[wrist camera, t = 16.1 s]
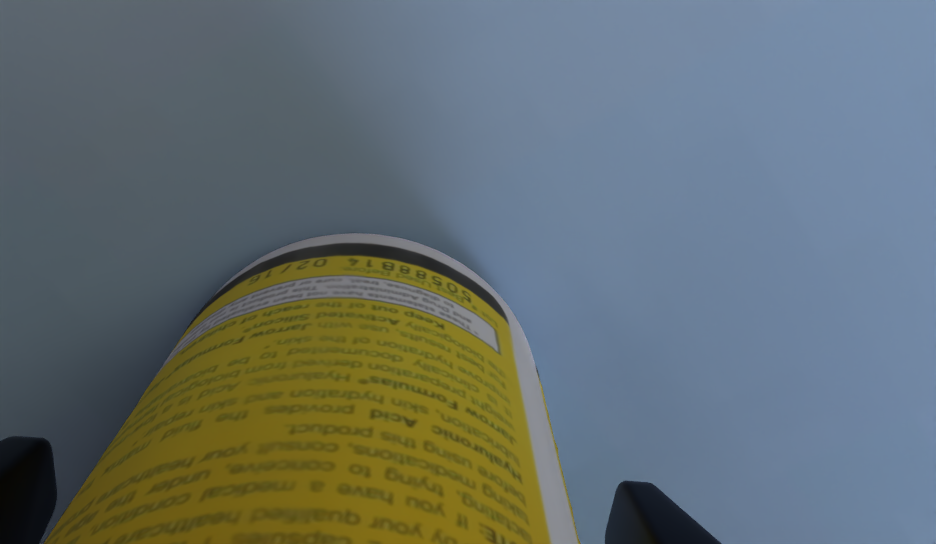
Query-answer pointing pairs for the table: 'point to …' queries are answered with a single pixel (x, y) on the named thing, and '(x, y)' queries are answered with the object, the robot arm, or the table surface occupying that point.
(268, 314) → the supplement bottle
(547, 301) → the table surface
